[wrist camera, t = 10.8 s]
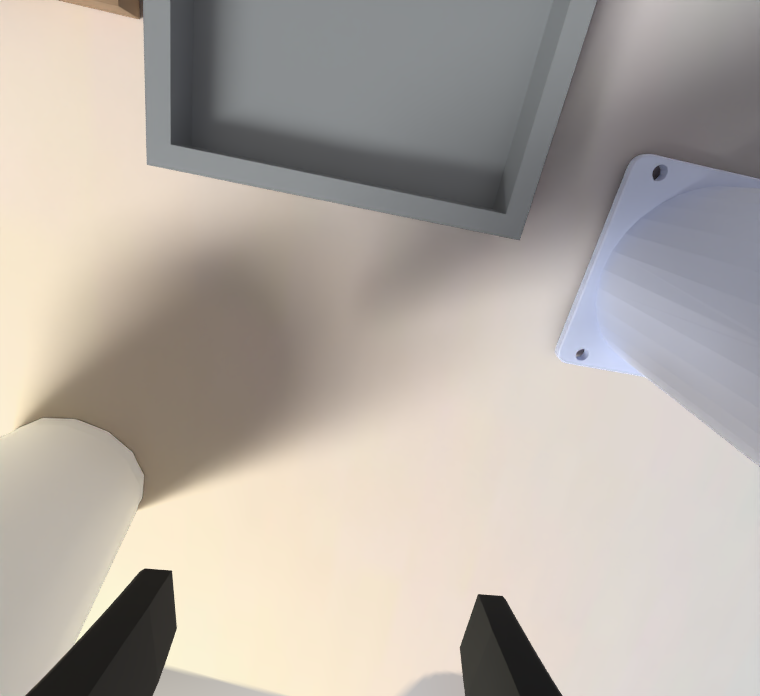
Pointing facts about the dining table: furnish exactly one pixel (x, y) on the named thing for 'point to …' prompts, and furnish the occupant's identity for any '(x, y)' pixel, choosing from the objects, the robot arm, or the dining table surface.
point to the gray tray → (366, 99)
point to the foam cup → (57, 538)
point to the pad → (112, 6)
